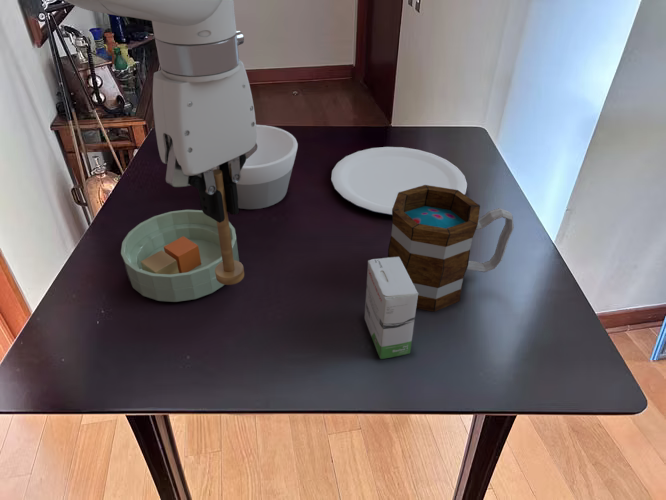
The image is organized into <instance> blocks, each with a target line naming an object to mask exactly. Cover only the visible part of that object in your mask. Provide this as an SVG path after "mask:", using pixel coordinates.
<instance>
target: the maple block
mask: <svg viewBox="0 0 666 500" xmlns="http://www.w3.org/2000/svg"><path fill="white" fill-rule="evenodd" d="M141 265H142V269H143V270H144V271H147V272H151V273H155V274H178V273H179V270H178V265H177V261H176V260H175V259H174V258H172V257H171V256H169V255H168V254H167V253H165V252H164V251H162V250H161V251H159V252H157V253H155V254H154V255H152V256H150V257H148V258H146V259H144V260H143V261H141Z"/></svg>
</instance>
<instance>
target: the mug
mask: <svg viewBox="0 0 666 500" xmlns="http://www.w3.org/2000/svg"><path fill="white" fill-rule="evenodd" d="M480 209H481V205H480V204H478V203H477V202H476V201H474V200H472V199H471V198H469V197H468V196H467V195H466V194H465V195H464V194H463V193H461V192H460V191H459V190H454V189H448V188H442V187H436V186H429V185H423V186H419V187H416V188H413V189H409V190H406V191H402V192H399V193H398V195H397V198H396V200H395V203H394V206H393V209H392V215H391V216H392V217H391V218H392V225H391V233H390V240H389V244H388V249H387V258H389V257H400V259H401V261H402V263H403V265H404V267H405V269H406V271H407V273H408V275H409V277H410V279H411V281H412V283H413V285H414V287H415V289H416V290H417V292H418V299H417V306H416V309H418V310H419V309H420V310H424V311H429V312H437V311H439V310H441V309H444V308H447V307H449V306H452V305H455V304H456V303H459V302H460V301H461V296H462V290H463V289H462V288H463V282H464V277H465V275H466V272H467V271H473V272H480V273H487V272H489V271H493V270H495V269H496V268H497V267H498V265H500V263H501V262H502V261H503V258H504V255H505V253H506V250H507V247H508V243H509V240H510V238H511V236H512V234H513V231H514V228H515V225H514V217H513V213H512V212H510V211H508V210H506V209H503V208H501V207H498V208H495V209H491V210H489V211H487V212H486V213H485V214H484V215H482V216H481V217H480ZM501 218H503V219H505V220H504V221H505V222H504V223H505V224H504V225H503V228H502V230H501V232H500V235H499V238H498V240H497V244H496V247H495V251H494V254H493V255H492V257H491V258H489V260H487V261H484V262H479V261H475V260H470V254H471V248H472V247H471V246H472V243H473V239H474V236H475V233H476V231H478V230H482V229H485V228H486V227H488V226H489V225H490V224H491V223H493V222H494V221H496V220H499V219H501Z"/></svg>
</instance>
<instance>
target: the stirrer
mask: <svg viewBox="0 0 666 500" xmlns="http://www.w3.org/2000/svg"><path fill="white" fill-rule="evenodd" d="M213 173H214V178H215V184H216V189H217V190H218V191H220V192H221V194H222V201H223V208H224V215H225V219H224V221H223V222H221V223H219V222H217V228H218V235H219V241H220V248H221V255H222V261H223V262H221V263H219V264H218V265H217V266H216V268H215V274H216V279H217V281H218V282H219V283H221V284H224V286H225V285H226V286H232V285H237V284H238V283H240V282H241V281H242V280H244V278H245V268H244V265H243V264H242V262H240V260H239V261H236V260H234V258H233V251H232V243H231V236H230V228H229V222H230V219H229V214H228V213H229V212H227V205H226V198H225V190H224V183H223V175H222V171H221V170H219V169H214V170H213Z"/></svg>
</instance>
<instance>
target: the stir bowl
mask: <svg viewBox="0 0 666 500" xmlns="http://www.w3.org/2000/svg"><path fill="white" fill-rule="evenodd" d="M229 228H230V236H231V243H232V251H233V258H234V260H236V261H239V262H240V258H239V257H240V256H239V250H238V240H237V234H236V228H235V227H234V226H233V225H232V223H231V222H230V221H229ZM183 236H184V237H185V238H187V239H189V240H190V241H192V242H193V243H195V244H196V245H198V248H199V253H200V259H201V265H199V266H197V267H196V268H194V269H192V270H191V271H189V272H185V273H178V274H155V273H151V272H147V271H144V270H143V269H142V265H141V261H143V260H144V259H146V258H148V257H150V256H152V255H154V254H155V253H157V252H159V251H161V250H162V251H164V246H166V245H168V244H170V243H172V242H174V241H175V240H177V239H179V238H181V237H183ZM164 252H165V251H164ZM120 256H121V258H122V262H123V266H124V269H125V273H126V275H127V278H128V281H129V283H130V285H131V287H132V289H134V290H135V291H136V292H137V293H139V294H140V295H141V296H142V297H146V298H148V299H152V300H155V301H158V302H170V303H179V302H186V301H191V300H197V299H200V298H203V297H205V296H208V295H211V294H213V293H215V292H216V291H217V290H219V289H221V288H223V287H224V286H225V285H224V284H221V283H219V282H218V281H217V279H216V274H215V268H216V266H217V265H218V264H219V263H221V262H223V261H222V255H221V248H220V241H219V235H218V228H217V221H216V220H214V219H212V218H211V217H209V216H207V215H205V214H204V213H203V211H202V209H200V210H199V209H182V210H181V209H180V210H173V211H168V212H164V213H161V214H158V215H153V216H152V217H150V218H148V219H145V220H144V221H142V222H139V224H137V225H136V226H135V227H133V228H132V229H131V230H130V231H129V232H128V233H127V234H126V235H125V237H124V238H123V241H122V242H121V248H120Z"/></svg>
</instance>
